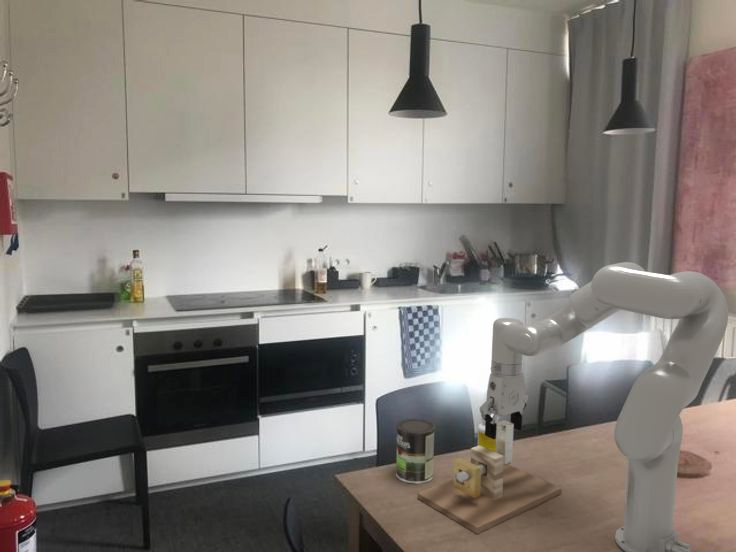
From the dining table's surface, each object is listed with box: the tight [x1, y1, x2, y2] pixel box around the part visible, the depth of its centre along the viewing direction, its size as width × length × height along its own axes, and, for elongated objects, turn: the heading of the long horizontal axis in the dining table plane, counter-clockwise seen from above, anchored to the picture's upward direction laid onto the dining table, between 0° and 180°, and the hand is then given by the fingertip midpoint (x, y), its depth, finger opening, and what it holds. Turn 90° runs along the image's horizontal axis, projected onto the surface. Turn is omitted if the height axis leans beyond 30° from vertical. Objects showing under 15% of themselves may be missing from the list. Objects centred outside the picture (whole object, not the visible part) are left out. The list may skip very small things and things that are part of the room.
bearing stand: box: [416, 445, 562, 535], centre depth 148 cm, size 20×31×12 cm, turn 127°
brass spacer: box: [453, 457, 481, 498], centre depth 143 cm, size 7×2×7 cm, turn 37°
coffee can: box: [395, 418, 436, 485], centre depth 159 cm, size 10×10×14 cm
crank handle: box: [455, 419, 515, 484], centre depth 146 cm, size 18×3×11 cm, turn 127°
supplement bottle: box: [477, 414, 499, 452], centre depth 169 cm, size 7×7×13 cm
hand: (503, 432), depth 150 cm, fingers open, 9 cm apart
